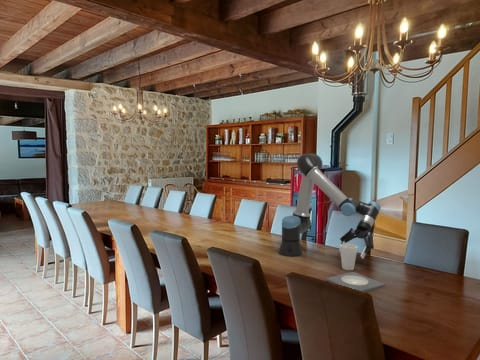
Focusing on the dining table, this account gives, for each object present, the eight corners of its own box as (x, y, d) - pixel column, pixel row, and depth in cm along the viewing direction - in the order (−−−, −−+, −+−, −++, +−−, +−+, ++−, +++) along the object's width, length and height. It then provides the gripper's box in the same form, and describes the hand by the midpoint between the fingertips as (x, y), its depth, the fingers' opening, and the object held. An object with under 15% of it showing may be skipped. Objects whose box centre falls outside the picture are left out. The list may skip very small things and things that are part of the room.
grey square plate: (325, 280, 178) (325, 277, 178) (352, 273, 188) (352, 270, 188) (356, 294, 161) (356, 290, 161) (384, 286, 171) (384, 282, 171)
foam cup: (345, 271, 191) (345, 248, 190) (336, 266, 200) (336, 244, 198) (360, 270, 193) (361, 247, 192) (350, 265, 202) (351, 243, 201)
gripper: (388, 232, 197) (373, 263, 188) (348, 224, 215) (334, 253, 207) (383, 224, 193) (369, 256, 184) (344, 217, 211) (329, 246, 203)
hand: (350, 254), depth 196 cm, fingers open, 13 cm apart
